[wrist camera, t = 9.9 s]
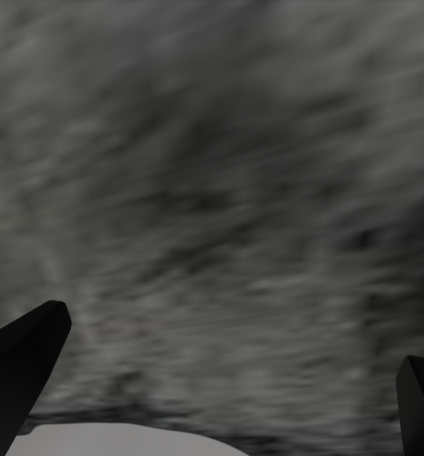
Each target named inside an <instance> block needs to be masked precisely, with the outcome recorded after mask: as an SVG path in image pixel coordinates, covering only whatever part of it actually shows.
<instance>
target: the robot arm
mask: <svg viewBox="0 0 424 456" xmlns="http://www.w3.org/2000/svg"><path fill="white" fill-rule="evenodd" d="M71 325H72V321H71V318H70V315H69V312H68V309H67V306H66V304H65V303H64V302H62V301H56V300H49V301H47V302H45V303H44V304H42V305H40V306H38V307H37V308H35V309H33V310H32V311H30V312H28V313H27V314H25V315H23V316H21V317H20V318H18V319H16V320H15V321H13V322H11V323H9V324H8V325H6V326H4V327H3V328H1V329H0V456H5V455H6V453H7V451H8V450H9V448H10V446H11V444H12V442H13V441H14V439H15V437H16V436H17V434H18V432H19V430H20V429H21V427H22V425H23V423H24V421H25V420H26V418H27V416H28V414H29V413H30V411H31V409H32V407H33V406H34V404H35V402H36V400H37V399H38V397H39V395H40V393H41V392H42V390H43V388H44V386H45V384H46V382H47V381H48V379H49V377H50V375H51V372H52V370H53V368H54V366H55V364H56V361H57V359H58V357H59V355H60V352H61V350H62V348H63V346H64V343H65V341H66V339H67V337H68V334H69V332H70V330H71ZM396 391H397V400H398V408H399V417H400V426H401V435H402V443H403V451H404V456H424V357H418V356H412V355H407V356H406V357H405V358H404V360H403V362H402V365H401V367H400V369H399V371H398V374H397V376H396Z"/></svg>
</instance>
